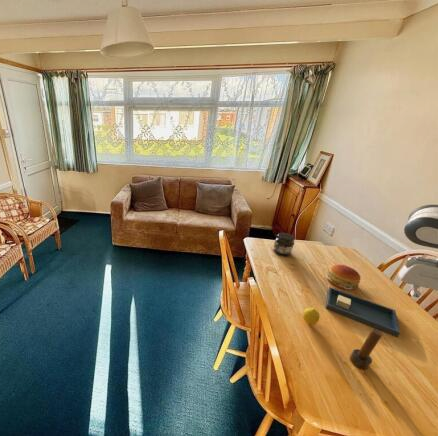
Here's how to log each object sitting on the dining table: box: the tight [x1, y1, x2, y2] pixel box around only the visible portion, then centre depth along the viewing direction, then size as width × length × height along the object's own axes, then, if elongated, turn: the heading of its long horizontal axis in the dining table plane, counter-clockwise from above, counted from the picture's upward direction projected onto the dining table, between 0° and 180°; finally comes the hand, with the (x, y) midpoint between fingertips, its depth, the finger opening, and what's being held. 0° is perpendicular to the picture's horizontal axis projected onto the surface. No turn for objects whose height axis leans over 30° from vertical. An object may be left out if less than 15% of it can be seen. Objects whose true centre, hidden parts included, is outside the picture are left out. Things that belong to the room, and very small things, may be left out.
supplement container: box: [272, 232, 296, 257], centre depth 145 cm, size 10×10×12 cm
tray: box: [325, 286, 401, 338], centre depth 103 cm, size 24×15×3 cm, turn 51°
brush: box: [349, 328, 384, 371], centre depth 79 cm, size 5×5×16 cm
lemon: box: [302, 307, 320, 325], centre depth 97 cm, size 6×6×8 cm
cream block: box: [336, 295, 351, 310], centre depth 106 cm, size 4×4×3 cm
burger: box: [325, 264, 361, 291], centre depth 119 cm, size 13×14×10 cm
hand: (434, 301), depth 71 cm, fingers open, 8 cm apart
